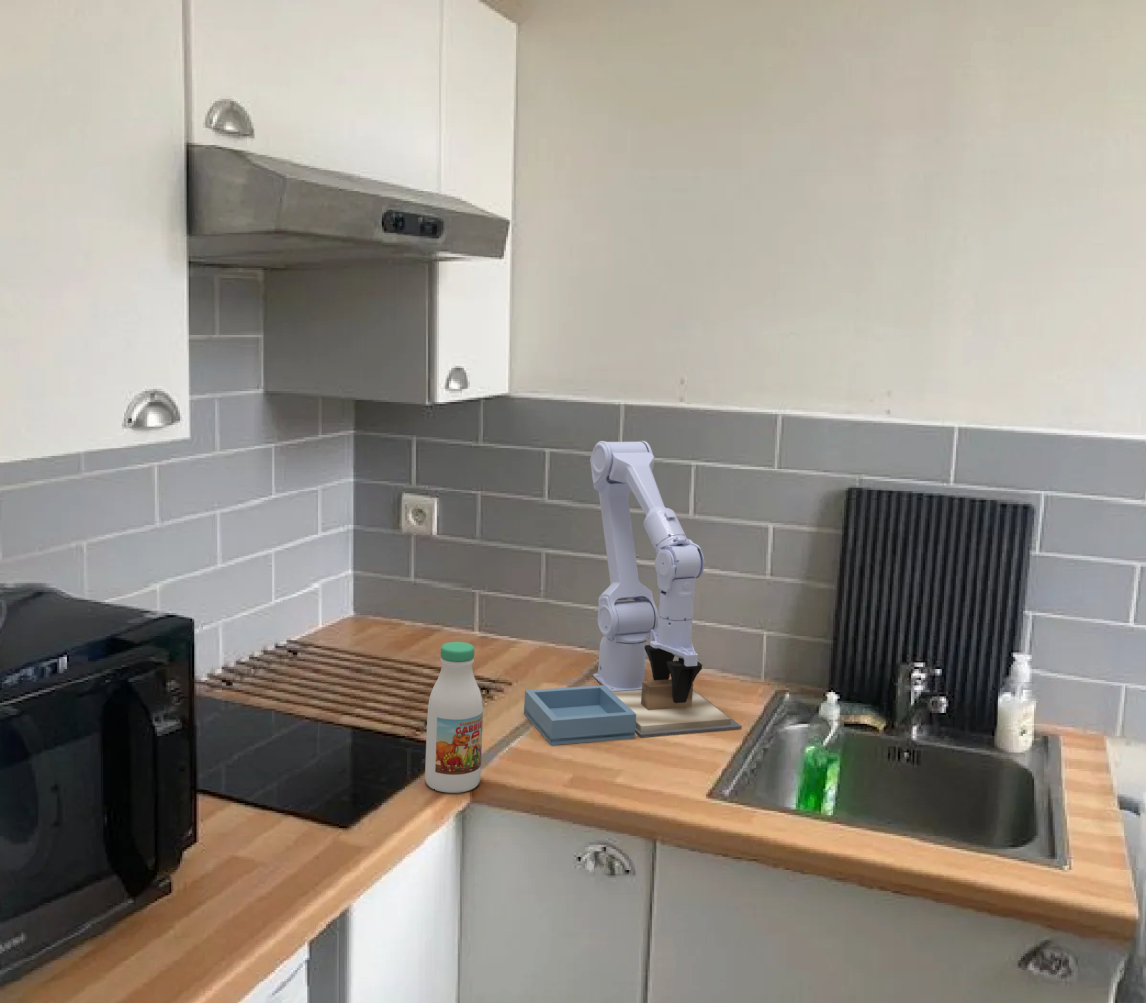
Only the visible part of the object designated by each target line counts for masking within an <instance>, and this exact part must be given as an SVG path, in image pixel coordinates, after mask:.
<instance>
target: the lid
mask: <svg viewBox="0 0 1146 1003" xmlns="http://www.w3.org/2000/svg"><path fill="white" fill-rule="evenodd" d="M694 690H695V689H694V683H693V684H692V686H691V689H690V692H689V695H688V698H687V701H686V702H685V703H674V702H673V698H672V681H671V678H669V680H654V681H653V680H644V681H642V690H636V691H621V692H612V693H613V694H615V695H616V696H617V697H618V698H619V699H620V700H621V701H622V702H623V703H625V704H626V705H627V706H628V707H629V708H630V709H631V710H632V711H633V712H635V713H636V728H637V729H638V730H639V731H640V732H649V731H661V730H673V729H685V728H697V727H709V726H721V725H730V723H731V719H730V718H731V717H730V716H729V715H728V716H729V717H730V718H729V717H728V716H726V715H727V714H726V713H725V712H724V713H725V714H726V715H725V714H724V713H722V712H723V711H722V710H721V709H720V710H721V711H722V712H721V711H720V710H718V709H719V708H718V707H717V706H716V705H714V704H713V703H712V702H710V701H709V700H708V699H707V700H708V701H709V702H710V703H709V702H708V701H707V700H705V699H706V698H705V697H704V696H703V697H704V698H705V699H704V698H703V697H701V696H702V695H701V694H700V693H699V694H700V695H701V696H700V695H699V694H697V693H698V692H697V691H696V690H695V691H696V692H697V693H696V692H695V691H694ZM711 703H712V704H713V705H714V706H713V705H712V704H711ZM715 706H716V707H717V708H718V709H717V708H716V707H715Z"/></svg>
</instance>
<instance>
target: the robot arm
mask: <svg viewBox="0 0 1146 1003" xmlns="http://www.w3.org/2000/svg"><path fill="white" fill-rule="evenodd" d="M589 461H590V470H591V478H592V483H593V489H594V490H595V491H597V492H598V497H599V503H600V505H599V506H600V512H601V520H602V528H603V536H604V544H605V550H606V559H607V560H606V561H607V567H608V575H609V583H610V585H609V586H608V587H607V588H606V589H605V590H604V591H603V592H602V593H601V594H600V595H599V597H598V599H597V600H598V609H597V610H598V611H597V625H598V628H599V631H600V633H601V635H603V636H602V638H601V640H600V641H599V653H598V670H597V673H593V674H592V676H593V678H594V679H595V680H597V681H598V682H599V683H600V684H601V685H605V686H606V687H607V688H608V689H609V690H610V691H611V692H621V691H636V690H642V681H645V673H646V672H645V671H646V659H647V657H648V660H649V663H650V664H649V665H650V668H651V673H652V674H651V675H652V681H654V680H669V679H671V681H672V698H673V702H674V703H685V702H686V701H687V698H688V695H689V692H690V689H691V686H692V684H693V685H694V682H695V679H696V678H697V677H698V675H699V673H700V671H701V670H703V664H702V663H701V662H699V660H698V659H699V654H698V653H697V652H696V651H695V648H694V646H693V642H692V634H693V633H692V632H693V623H694V622H693V619H694V605H695V596H696V594H695V593H696V580H697V579H699V578H700V577H701V576H702V574H703V572H704V569H705V557H704V554H703V551H702V549H701V546H700V545H699V544H696V543H694V542H693V541H692V539H691V538H690V539H689V538H688V537H687V535H686V533H685V531H684V529H683V527H682V525H681V523H680V520H679V518H678V516H677V514H676V512H675V511H674V509H671V508H668V507H665V503H664V500H663V498H662V496H661V492H660V490H659V487H658V484H657V482H656V479H655V476H654V474H653V470H654V466H655V456H654V453H653V450H652V448H651V445H650V444H649V443H648V442H647V441H646V440H639V441H605V440H600V441H598V442H596V443H595V446H594V447H593V449H592V452H591V456H590V458H589ZM631 492H632V493H633V495H634V497H635V499H636V500H637V502H638V504H639V505H640V507H641V509H642V511H643V513H644V514H645V518H644V520H643V528H644V530H645V532H646V534H647V536H648V538H649V541H650V543H651V546H652V548H653V549H654V552H655V554H656V557H655V559H654V570H655V572H656V576H657V579H656V580H657V581H656V582H657V588H658V589H659V600H658V601H659V603H658V604H659V605H658V608H657V605H656V603H655V601H654V599H655V598H654V597H653V596H654V595H653V591H652V590H651V589H649V588H648V587H647V586H645V585H644V584H643V583H641V582H640V579H639V578H640V577H639V571H638V562H637V555H636V554H637V553H636V547H635V541H634V539H635V538H634V533H633V525H632V516H631V510H630V505H629V504H630V503H629V502H630V501H629V495H630V493H631ZM624 600H628V601H624ZM616 601H617V602H616ZM648 640H650V641H649V642H650V643H649V644H648V643H647V641H648ZM675 657H677V659H678V660H674V659H675Z"/></svg>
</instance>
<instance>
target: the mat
mask: <svg viewBox="0 0 1146 1003" xmlns="http://www.w3.org/2000/svg"><path fill="white" fill-rule="evenodd" d="M693 690H694V691H695V692H696V693H697V694H699V695H700V696H701V697H703V698H704V699H705V700H707V701H708V702H709V703H711V704H712V705H713V706H715V707H716V708H717V709H718V710H720V711H721V712H722V713H724V714H725V715H726V716H728V717H729V718H730V719H731V723H730V725H721V726H709V727H697V728H685V729H673V730H661V731H649V732H640V731H639V730H638V729H637V728H636V727H635V735H637V736H638V737H639V738H640V739H641V738H652V737H665V736H677V735H687V734H699V733H709V732H710V733H712V732H722V731H723V732H726V731H735V730H742V725H741V724H740V723H738V722H737V721H736V720H734V719H733V718H732V717H730V716H729V715H728V714H727V713H725V712H724V711H723V710H721V709H720V708H718V707H717V706H716V705H714V704H713V703H712V702H710V700H708V699H707V698H705V697H704V696H703V695H702V694H700V693H699V692H698V691H696V690H695V689H693Z"/></svg>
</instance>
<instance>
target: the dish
mask: <svg viewBox="0 0 1146 1003" xmlns="http://www.w3.org/2000/svg"><path fill="white" fill-rule="evenodd" d="M523 701H524V703H523V704H524V705H523V714H524V715H525V717H526V718H527V720H529V722H530V723H532V725H533V726H534V727H535V728H536V730H537V731H538V732H539V733H540V734H541V736H542V737H543V738H544V739H545V740H546V741H547V743H548V744H549V745H550V746H557V745H558V746H559V745H560V746H561V745H569V744H572V745H573V744H581V743H595V742H596V743H597V742H606V741H608V742H609V741H616V740H617V741H618V740H619V741H620V740H629V739H636V733H635V727H636V713H635V712H633V711H632V710H631V709H630V708H629V707H628V706H627V705H626V704H625V703H623V702H622V701H621V700H620V699H619V698H618V697H617V696H616V695H615V694H613V693H612V692H611V691H610V690H609V689H608V688H607V687H606V686H605V685H602V684H601V685H585V686H569V687H555V688H541V689H540V688H539V689H527V690H526V689H525V690H524V700H523Z"/></svg>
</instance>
